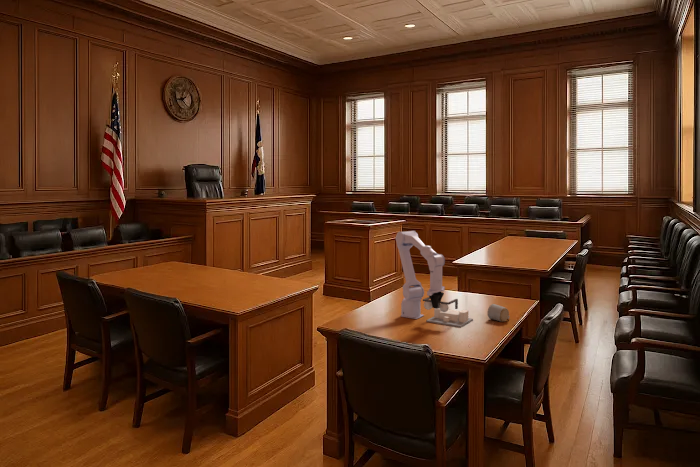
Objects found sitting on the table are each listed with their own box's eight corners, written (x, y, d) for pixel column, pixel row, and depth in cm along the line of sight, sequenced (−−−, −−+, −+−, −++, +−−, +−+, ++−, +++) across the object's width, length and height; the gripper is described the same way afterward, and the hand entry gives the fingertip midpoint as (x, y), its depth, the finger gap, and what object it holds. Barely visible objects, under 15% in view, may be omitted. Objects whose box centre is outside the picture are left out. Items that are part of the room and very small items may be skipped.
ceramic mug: (500, 323, 247) (501, 307, 247) (486, 320, 254) (487, 304, 253) (513, 320, 254) (514, 304, 253) (499, 316, 260) (500, 301, 259)
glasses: (448, 313, 241) (448, 302, 240) (422, 309, 249) (422, 299, 249) (457, 308, 249) (457, 298, 249) (432, 304, 257) (432, 295, 257)
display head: (460, 327, 241) (460, 316, 241) (426, 321, 252) (426, 310, 251) (473, 320, 253) (473, 309, 253) (439, 315, 264) (440, 304, 263)
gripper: (436, 283, 236) (436, 312, 237) (450, 278, 247) (450, 305, 249) (423, 281, 240) (423, 309, 242) (437, 276, 252) (437, 303, 253)
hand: (436, 307), depth 246 cm, fingers closed on glasses
